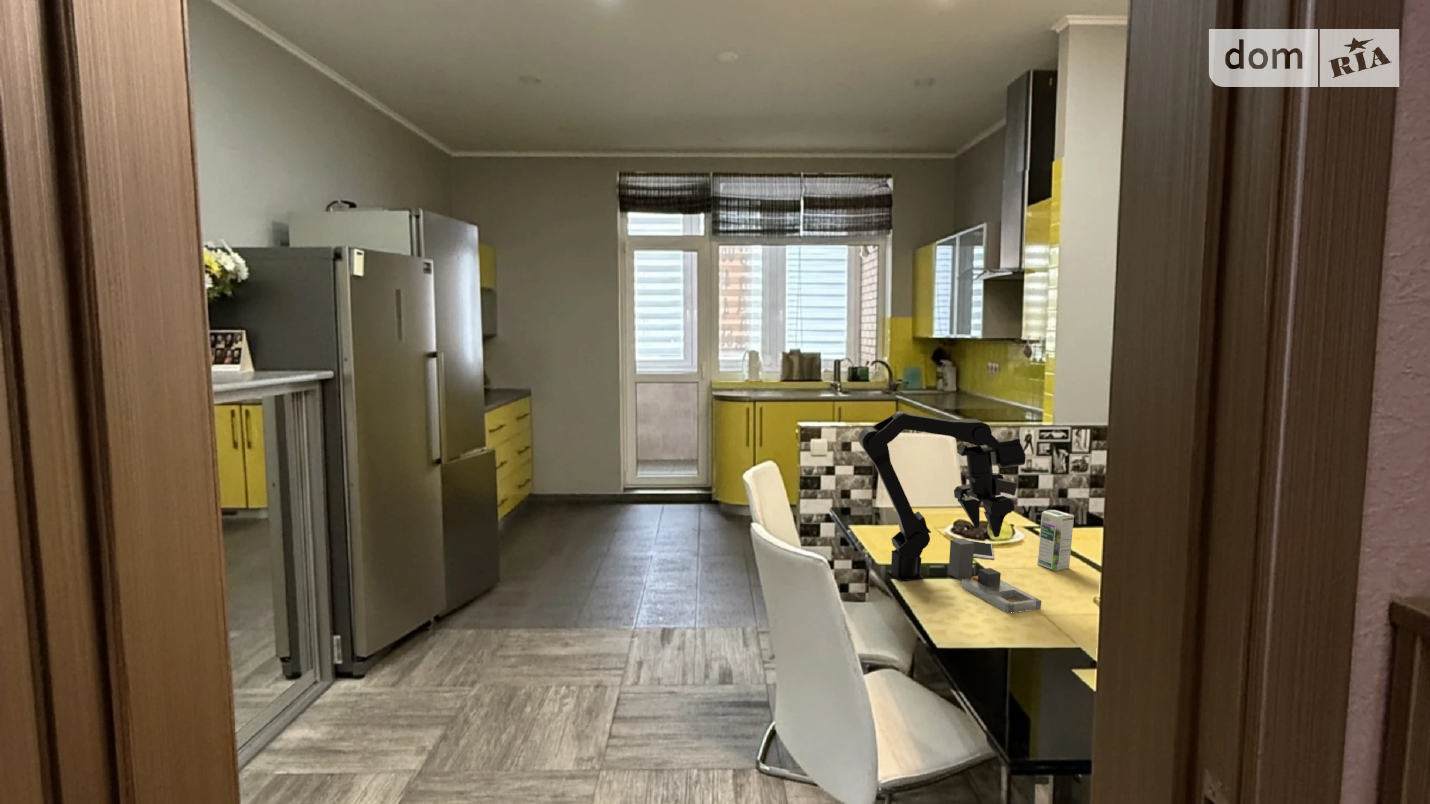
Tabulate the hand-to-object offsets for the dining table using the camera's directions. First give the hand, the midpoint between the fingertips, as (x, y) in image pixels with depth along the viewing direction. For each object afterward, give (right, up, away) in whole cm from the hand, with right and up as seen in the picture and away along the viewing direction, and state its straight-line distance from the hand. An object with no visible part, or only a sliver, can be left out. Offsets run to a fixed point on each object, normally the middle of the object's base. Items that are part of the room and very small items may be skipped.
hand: (986, 531), depth 182 cm
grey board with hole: (-1, -13, -11) cm, 17 cm away
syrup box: (+22, -11, +11) cm, 27 cm away
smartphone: (+7, -10, +24) cm, 27 cm away
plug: (-6, -12, +3) cm, 13 cm away
